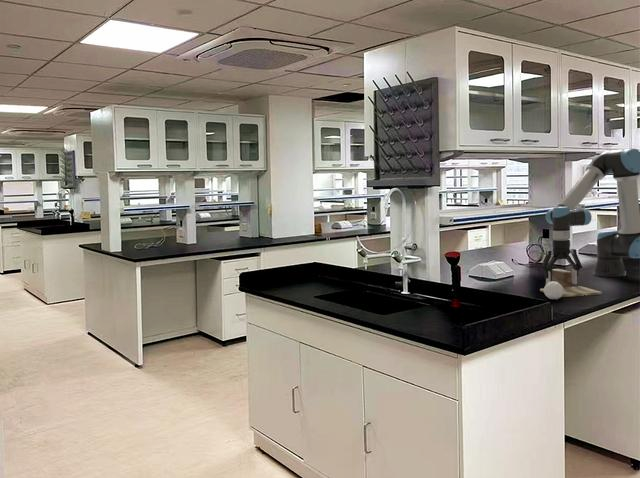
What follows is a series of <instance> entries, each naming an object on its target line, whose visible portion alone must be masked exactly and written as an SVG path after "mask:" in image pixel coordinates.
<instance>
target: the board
mask: <svg viewBox="0 0 640 478" xmlns="http://www.w3.org/2000/svg"><path fill="white" fill-rule="evenodd" d="M539 291H540V292H542V293H544V288H540V289H539ZM602 294H603V292H602V291H599V290H595V289H592V288H589V287H584V286H582V285H581V286H580V285H578V286H577V285H575V286H571V287H563V295H562V296H561V297H560V298H566V297H579V296H580V297H582V296H583V297H584V295H585V296H597V295H600V296H601V295H602Z"/></svg>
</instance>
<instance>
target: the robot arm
mask: <svg viewBox="0 0 640 478" xmlns="http://www.w3.org/2000/svg"><path fill="white" fill-rule="evenodd" d="M611 174H612V179H614V180H615V181H616V184H617V197H618V208H619V218H620V229H619V230H613V231H612V230H610V231H601V232H598V234H597V236H596V254H597V255H596V259H597V260H596V263H595V265H594V269H593V275H594V276H596V277H602V278H603V277H605V278H621V277H622V276H623V277H626V276H627V271H626V269H625V265H624V262H623V258H624V257H625V258H629V259H630V258H631V259H640V201H639V192H638V191H639V190H638V178H639V177H640V150H639V149H637V148H627V147H626V148H620V149H611V150H606V151H603V152H602V153H599V154H598V156H596V157H595V158H594V159H593V160H591V162H590V163H589V164H588V165H587V166H586V168H585V172H584V173H583V174H582V176H581V177H580V178H579V179H578V180H577V181H576V183H575V184H574V185H573V186H572V188H571V189H570V190H569V191H568V193H566V195H565V196H564V198H563V199H562V200H560V202H559V203H558V204H557V206H555V207H553V208H551V209H548V211H546V214H545V220H546V221H547V223H548V224H549V225H552V239H553V240H552V250H549V249H547V250H546V253H545V255H544V256H545V257H544V259H543V260H542V261H543V262H542V263H541V265H540V269H539V270H540V271H543V273H544V275H543V276H544V279H545V285H546V284H547V283H549V282H551V271H550V270H552V267H554V265H555V263H556V261H558V260H566V261H567V262H568V263H569V265H570V266H571V268H572V270H571V284H574V285H577V284H578V283H577V282H578V277H579V271H580V269H583V265H582V263H581V260H580V258H579V256H578V254H577V249H574V248H570V247H571V241H570V239H571V227H578V226H579V227H580V226H587V225H589V224H591V222H592V219H593V218H592V214H591V212H590V211H589V210H588V209H577V207H578V206H579V205H580V203H582V201H583V200H584V198H586V197H587V195H588V194H589V193H590V191H592V189H594V187H595V186H596V185H597V183H598V182H599V181H601V180H603V179H604V178H605V177H606V176H608V175H611ZM570 254H571V256H572V257H571V256H570ZM572 258H573V259H572Z"/></svg>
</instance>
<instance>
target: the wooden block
mask: <svg viewBox="0 0 640 478" xmlns="http://www.w3.org/2000/svg"><path fill="white" fill-rule="evenodd" d="M551 281H553V282H558V283H559V284H560V285H562V287H572V270H570V271H569V270H566V269H562V268H551Z"/></svg>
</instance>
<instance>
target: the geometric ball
mask: <svg viewBox="0 0 640 478" xmlns="http://www.w3.org/2000/svg"><path fill="white" fill-rule="evenodd" d="M543 289H544V292H543V293H544V295H545V296H546V297H547V298H548V299H550V300H554V299H555V300H559V299H560V298H562V297H561V296H562V295H563V287H562V285H560V284H559V283H558V282H553V281H552V280H550V282H549V283H547V284H546V283H545V286H544V288H543Z"/></svg>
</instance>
